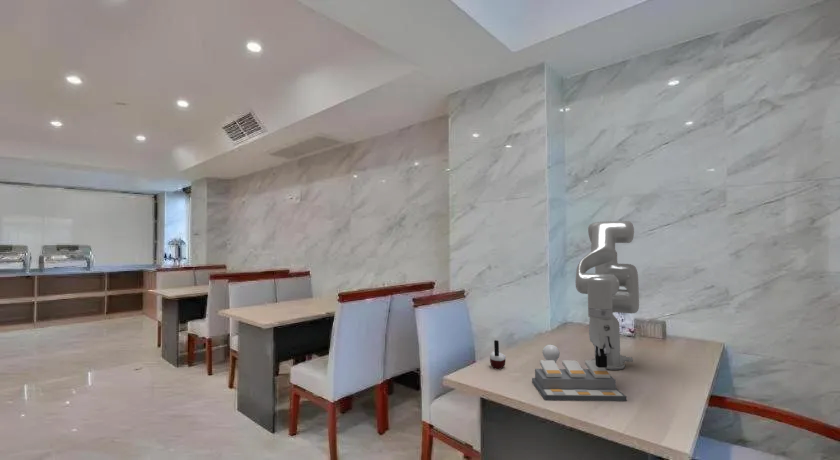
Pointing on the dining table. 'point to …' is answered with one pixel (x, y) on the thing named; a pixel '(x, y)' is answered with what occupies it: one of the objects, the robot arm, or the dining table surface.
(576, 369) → the switch
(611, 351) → the robot arm
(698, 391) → the dining table surface
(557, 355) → the lightbulb
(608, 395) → the switch unit
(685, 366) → the dining table surface
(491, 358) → the cocoa
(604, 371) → the switch
